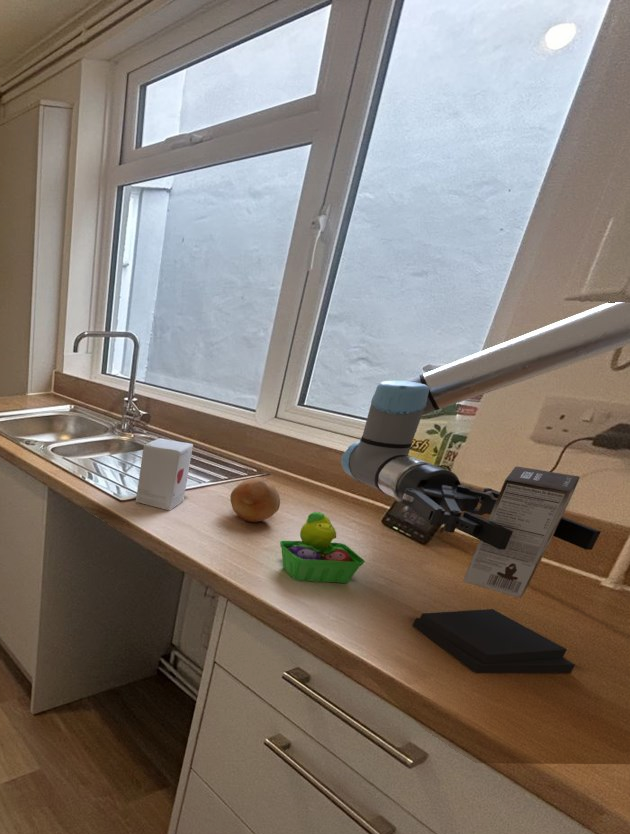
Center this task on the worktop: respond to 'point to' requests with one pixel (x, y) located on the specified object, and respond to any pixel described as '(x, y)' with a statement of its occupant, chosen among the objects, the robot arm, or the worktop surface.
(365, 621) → the worktop surface
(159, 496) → the rectangular carton
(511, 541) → the coffee box
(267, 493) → the onion
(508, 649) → the black game console
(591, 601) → the worktop surface
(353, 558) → the fruit basket
